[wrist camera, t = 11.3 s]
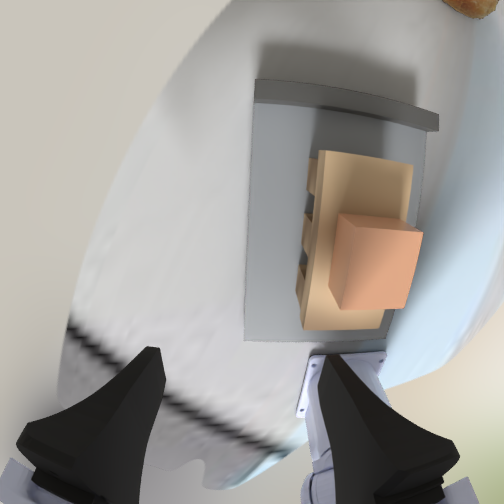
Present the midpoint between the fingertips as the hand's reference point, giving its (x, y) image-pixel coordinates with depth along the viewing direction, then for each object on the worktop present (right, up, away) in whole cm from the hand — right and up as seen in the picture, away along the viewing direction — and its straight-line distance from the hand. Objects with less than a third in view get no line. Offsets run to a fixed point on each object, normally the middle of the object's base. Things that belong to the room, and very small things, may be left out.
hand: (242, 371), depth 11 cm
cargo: (+6, +5, +3) cm, 9 cm away
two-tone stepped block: (+6, +7, +7) cm, 11 cm away
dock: (+6, +7, +8) cm, 13 cm away
